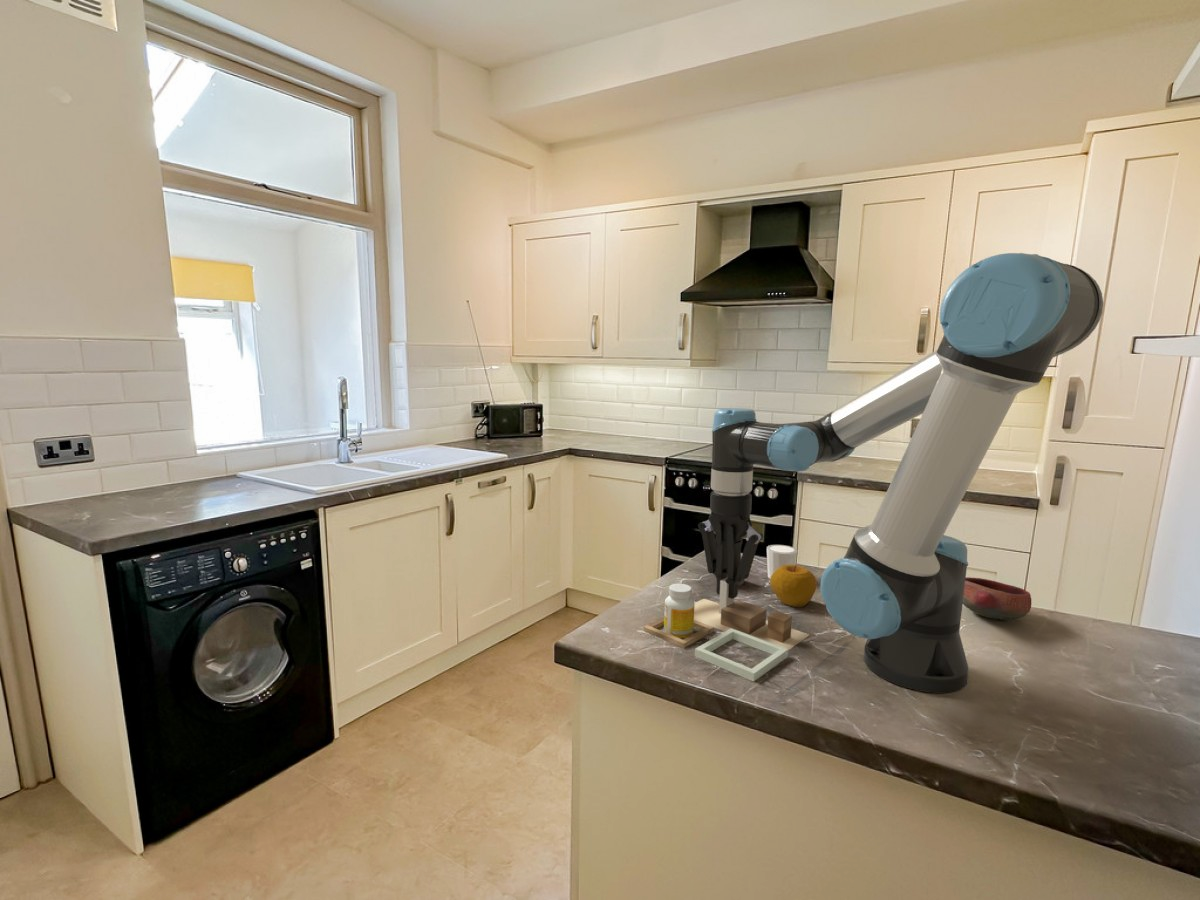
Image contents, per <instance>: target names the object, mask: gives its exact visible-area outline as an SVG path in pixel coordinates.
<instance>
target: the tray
mask: <svg viewBox="0 0 1200 900" xmlns="http://www.w3.org/2000/svg"><path fill="white" fill-rule="evenodd" d="M732 640H734V641H737V642H739V643H742V644H745V645H748V646H750V647H752V648H755V649H757V650H760V651H763V652H764V653H768V654H770V655H769V656H768V657H767V658H764V660H762V661H761V662H759V663H758V664H756V665H755V666H753V667H752V668H750V667H748V666H745V665H743V664H741V663H738V662H736V661H735V660H731V659H730V658H726V657H724V656H722V655H719V654H717V653H714V652H713V651H714V650H717V649H718V648H719V647H721V646H723V645H725V644H727V643H728V642H730V641H732ZM694 657H695V658H697V659H700V660H702V661H704V662H706V663H709V664H712V665H713V666H716V667H719V668H720V669H723V670H726V671H728V672H730V673H732V674H734V675H738V676H740V677H742V678H744V679H745V680H749V681H751V682H755V681H756V680H759V678H761V677H762V676H764V675H765V674H766V673H768V672H769V671H771V670H772V669H773V668H775V667H776V666H777V665H779V664H780V663H781V662H783V661H784V660H786V659H787V658H788V657H789V650H788V649H786V648H783V647H780V646H777V645H775V644H772V643H769V642H767V641H764V640H761V639H759V638H756V637H753V636H750V635H748V634H745V633H742V632H740V631H737V630H734V629H732V628H731V629H729V630H727V631H725V632H724V631H723V632H722V633H720V634H718V635H717V636H715V637H713V638H711V639H709V640H708V641H706V642H705V643H702V644H701V645H700V646H697V647H696V648H694Z"/></svg>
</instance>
